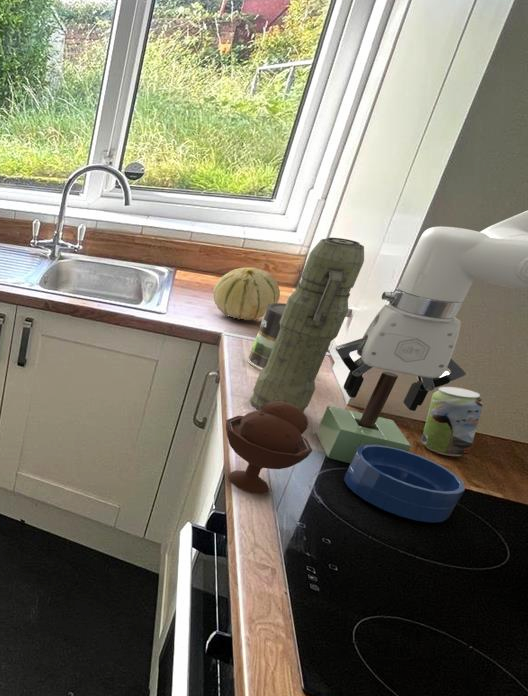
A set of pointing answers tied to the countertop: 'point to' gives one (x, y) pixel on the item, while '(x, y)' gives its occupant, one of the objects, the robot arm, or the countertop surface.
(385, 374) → the stirring stick
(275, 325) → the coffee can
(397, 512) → the mixing bowl
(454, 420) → the beverage can
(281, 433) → the ice cream bowl
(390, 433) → the utensil holder
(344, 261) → the thermos
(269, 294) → the cantaloupe
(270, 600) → the countertop surface
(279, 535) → the countertop surface
